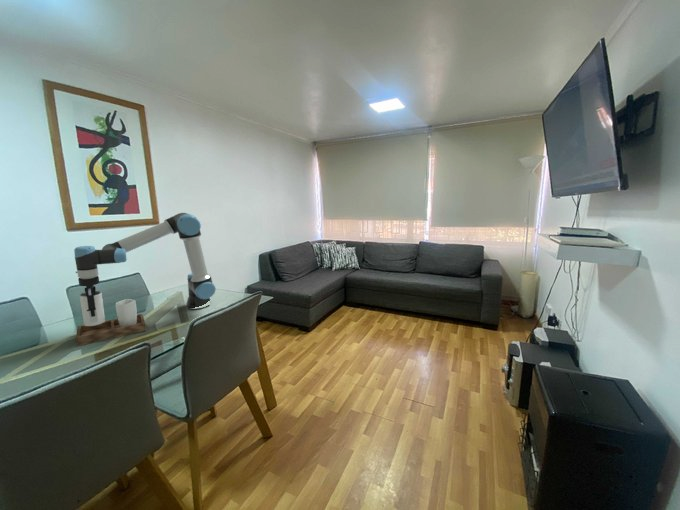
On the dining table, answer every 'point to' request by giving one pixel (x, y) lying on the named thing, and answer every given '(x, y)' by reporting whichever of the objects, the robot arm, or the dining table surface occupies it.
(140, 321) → the tray
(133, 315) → the cup
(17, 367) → the dining table surface
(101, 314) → the cup
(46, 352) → the dining table surface
